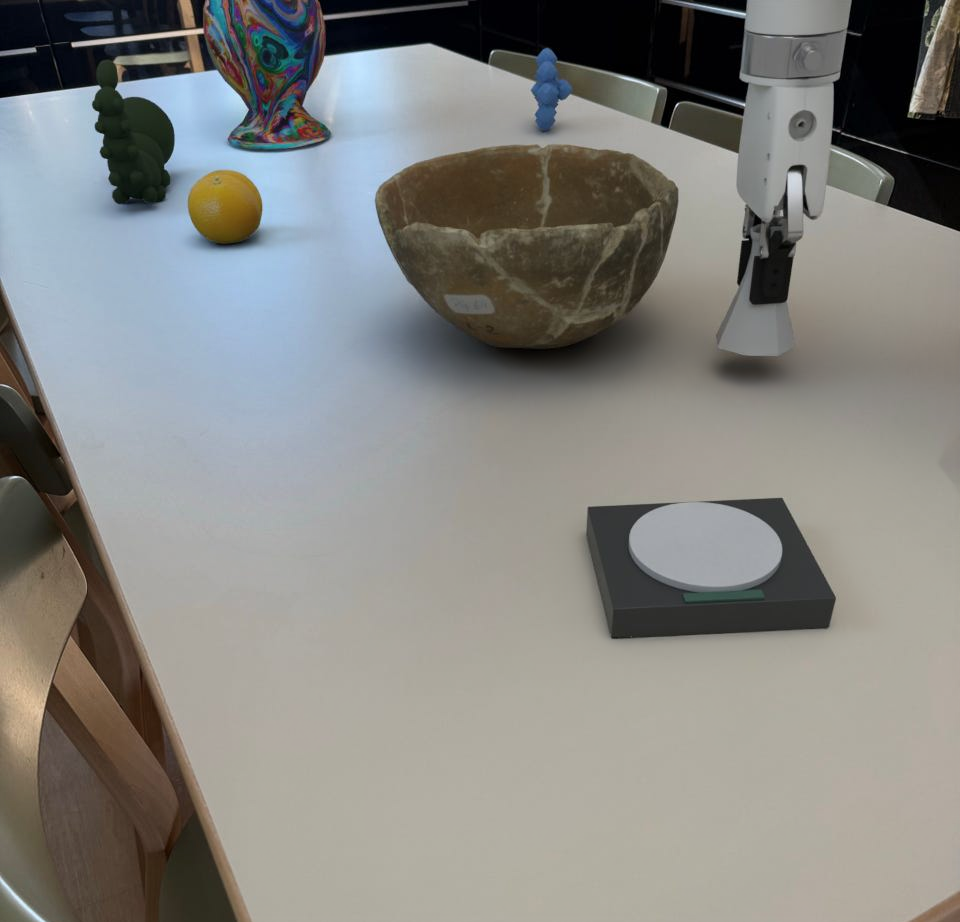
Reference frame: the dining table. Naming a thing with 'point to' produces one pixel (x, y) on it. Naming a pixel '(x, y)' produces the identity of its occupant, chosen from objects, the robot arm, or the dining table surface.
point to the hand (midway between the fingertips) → (761, 292)
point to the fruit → (225, 206)
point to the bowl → (529, 238)
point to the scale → (705, 568)
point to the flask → (755, 318)
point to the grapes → (548, 89)
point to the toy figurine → (132, 140)
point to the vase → (269, 66)
